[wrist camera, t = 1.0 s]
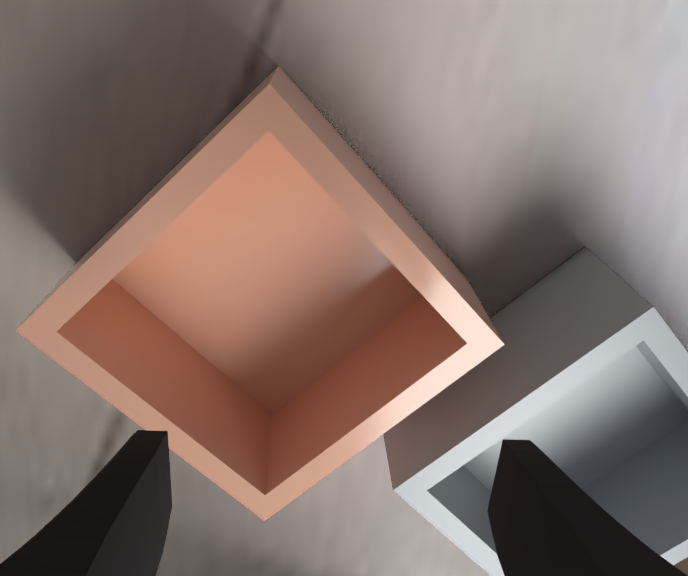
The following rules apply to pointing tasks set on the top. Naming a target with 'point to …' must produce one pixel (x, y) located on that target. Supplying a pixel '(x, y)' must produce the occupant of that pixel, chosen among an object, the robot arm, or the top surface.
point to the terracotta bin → (266, 305)
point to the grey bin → (560, 414)
